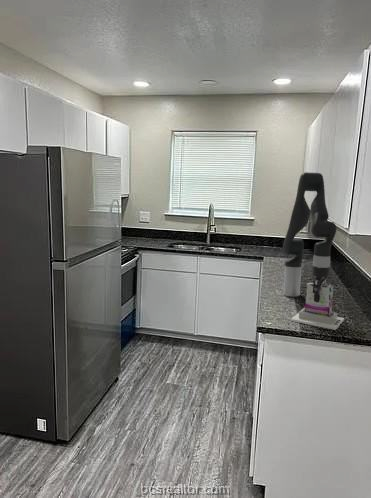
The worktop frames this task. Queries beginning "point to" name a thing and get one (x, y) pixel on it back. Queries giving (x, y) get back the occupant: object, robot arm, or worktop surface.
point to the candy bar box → (324, 300)
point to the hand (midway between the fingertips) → (319, 299)
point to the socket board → (318, 319)
